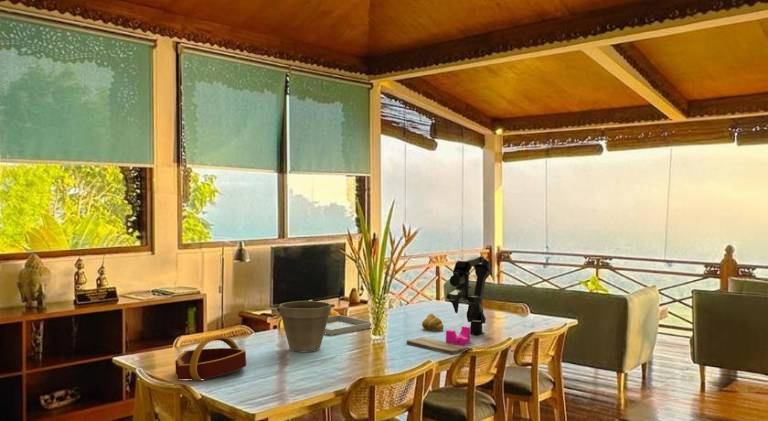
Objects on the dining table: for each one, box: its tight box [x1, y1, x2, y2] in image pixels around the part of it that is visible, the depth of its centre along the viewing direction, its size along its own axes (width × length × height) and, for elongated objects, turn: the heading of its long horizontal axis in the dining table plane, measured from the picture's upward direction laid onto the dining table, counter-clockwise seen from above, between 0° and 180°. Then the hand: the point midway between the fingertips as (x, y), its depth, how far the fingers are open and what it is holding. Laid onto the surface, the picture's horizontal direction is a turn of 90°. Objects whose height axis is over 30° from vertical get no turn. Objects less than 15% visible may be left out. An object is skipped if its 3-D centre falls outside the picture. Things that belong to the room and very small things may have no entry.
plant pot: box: [278, 300, 332, 352], centre depth 309 cm, size 25×25×22 cm
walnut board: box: [406, 336, 470, 355], centre depth 313 cm, size 12×30×2 cm, turn 43°
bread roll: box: [421, 313, 444, 332], centre depth 354 cm, size 13×10×8 cm
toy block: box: [445, 325, 471, 346], centre depth 320 cm, size 15×6×8 cm, turn 136°
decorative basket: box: [174, 335, 247, 381], centre depth 268 cm, size 34×29×15 cm
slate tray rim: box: [324, 314, 371, 336], centre depth 360 cm, size 31×31×3 cm
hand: (463, 314), depth 330 cm, fingers open, 9 cm apart
